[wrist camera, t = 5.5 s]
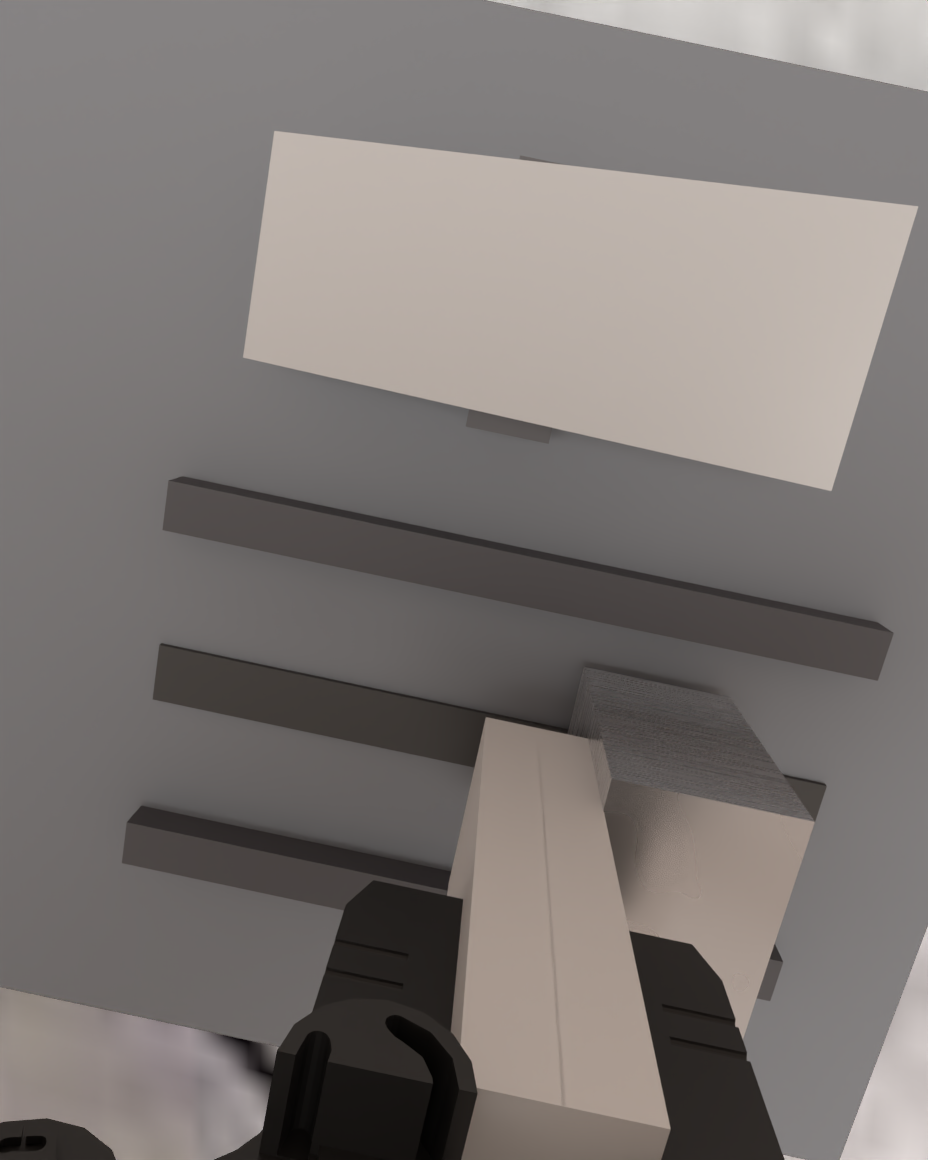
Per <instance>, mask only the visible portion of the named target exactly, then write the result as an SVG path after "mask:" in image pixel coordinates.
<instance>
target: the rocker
mask: <svg viewBox="0 0 928 1160" xmlns="http://www.w3.org/2000/svg"><path fill="white" fill-rule="evenodd" d="M917 209H918V206H911V205H902V204H894V203H885V202H877V201H868V200H860V199H851V198H843V197H834V196H826V195H817V194H809V193H800V192H791V191H783V190H774V189H766V188H757V187H749V186H740V185H732V184H723V183H715V182H706V181H698V180H689V179H681V178H672V177H664V176H655V175H646V174H638V173H629V172H621V171H612V170H604V169H595V168H587V167H578V166H570V165H561V164H553V163H544V162H536V161H527V160H519V159H510V158H502V157H493V156H484V155H476V154H467V153H459V152H450V151H442V150H433V149H425V148H416V147H408V146H399V145H391V144H382V143H374V142H365V141H357V140H348V139H340V138H331V137H322V136H314V135H305V134H297V133H288V132H280V131H274V137H273V144H272V151H271V159H270V166H269V173H268V180H267V187H266V195H265V202H264V209H263V216H262V224H261V231H260V238H259V245H258V253H257V260H256V267H255V274H254V282H253V289H252V296H251V303H250V311H249V318H248V325H247V332H246V340H245V347H244V354H243V358H247V359H252V360H256V361H260V362H265V363H269V364H274V365H278V366H283V367H287V368H291V369H296V370H300V371H305V372H309V373H313V374H318V375H322V376H327V377H331V378H335V379H340V380H344V381H349V382H353V383H357V384H362V385H366V386H371V387H375V388H379V389H384V390H388V391H393V392H397V393H401V394H406V395H410V396H415V397H419V398H423V399H428V400H432V401H437V402H441V403H445V404H450V405H454V406H459V407H463V408H467V409H472V410H476V411H481V412H485V413H489V414H494V415H498V416H503V417H507V418H512V419H516V420H520V421H525V422H529V423H534V424H538V425H542V426H547V427H551V428H556V429H560V430H564V431H569V432H573V433H578V434H582V435H586V436H591V437H595V438H600V439H604V440H608V441H613V442H617V443H622V444H626V445H630V446H635V447H639V448H644V449H648V450H652V451H657V452H661V453H666V454H670V455H674V456H679V457H683V458H688V459H692V460H696V461H701V462H705V463H710V464H714V465H718V466H723V467H727V468H732V469H736V470H740V471H745V472H749V473H754V474H758V475H763V476H767V477H771V478H776V479H780V480H785V481H789V482H793V483H798V484H802V485H807V486H811V487H815V488H820V489H824V490H829V491H832V488H833V484H834V481H835V478H836V474H837V471H838V468H839V465H840V461H841V458H842V455H843V452H844V448H845V445H846V442H847V438H848V435H849V432H850V429H851V425H852V422H853V419H854V416H855V412H856V409H857V406H858V402H859V399H860V396H861V393H862V389H863V386H864V383H865V380H866V376H867V373H868V370H869V366H870V363H871V360H872V357H873V353H874V350H875V347H876V344H877V340H878V337H879V334H880V330H881V327H882V324H883V321H884V317H885V314H886V311H887V307H888V304H889V301H890V298H891V294H892V291H893V288H894V285H895V281H896V278H897V275H898V271H899V268H900V265H901V262H902V258H903V255H904V252H905V249H906V245H907V242H908V239H909V235H910V232H911V229H912V226H913V222H914V219H915V216H916V213H917Z"/></svg>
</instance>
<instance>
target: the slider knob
mask: <svg viewBox="0 0 928 1160" xmlns="http://www.w3.org/2000/svg"><path fill="white" fill-rule="evenodd" d="M567 734H568V735H573V736H578V737H583V738H587V739H588V741H589V746H590V751H591V755H592V760H593V765H594V770H595V774H596V779H597V784H598V789H599V794H600V798H601V803H602V808H603V811H604V815H605V820H606V824H607V829H608V834H609V839H610V843H611V848H612V853H613V858H614V862H615V867H616V872H617V877H618V881H619V886H620V891H621V896H622V900H623V905H624V910H625V915H626V919H627V924H628V929H629V931H632V932H637V933H642V934H646V935H651V936H656V937H660V938H665V939H670V940H675V941H679V942H684V943H689V944H692V945H693V946H694V947H695V948H696V950H697V951H698V952H699V953H700V954H701V956H702V957H703V958H704V959H705V960H706V962H707V963H708V964H709V965H710V966H711V968H712V969H713V970H714V971H715V973H716V974H717V975H718V976H719V977H720V979H721V980H722V981H723V984H724V987H725V990H726V993H727V996H728V999H729V1002H730V1004H731V1007H732V1010H733V1013H734V1016H735V1019H736V1021H735V1027H738V1028H739V1030H740V1033H741V1036H742V1039H743V1038H744V1035H745V1032H746V1029H747V1026H748V1022H749V1019H750V1016H751V1013H752V1010H753V1007H754V1004H755V1001H756V998H757V995H758V992H759V989H760V986H761V983H762V980H763V977H764V974H765V971H766V968H767V965H768V962H769V959H770V956H771V953H772V950H773V947H774V944H775V941H776V938H777V935H778V932H779V929H780V926H781V923H782V920H783V917H784V914H785V911H786V908H787V905H788V902H789V899H790V896H791V893H792V890H793V887H794V884H795V881H796V878H797V874H798V871H799V868H800V865H801V862H802V859H803V856H804V853H805V850H806V847H807V844H808V841H809V838H810V835H811V832H812V829H813V826H814V823H815V821H814V820H813V818H812V817H811V815H810V814H809V812H808V811H807V810H806V808H805V807H804V805H803V804H802V802H801V801H800V799H799V798H798V796H797V795H796V793H795V792H794V790H793V789H792V787H791V786H790V785H789V783H788V782H787V780H786V779H785V777H784V776H783V774H782V773H781V771H780V770H779V768H778V767H777V765H776V764H775V762H774V761H773V760H772V758H771V757H770V755H769V754H768V752H767V751H766V749H765V748H764V746H763V745H762V743H761V742H760V740H759V739H758V737H757V736H756V735H755V733H754V732H753V730H752V729H751V727H750V726H749V724H748V723H747V721H746V720H745V718H744V717H743V715H742V714H741V712H740V711H739V710H738V708H737V707H736V705H735V704H734V702H733V701H732V699H731V698H730V697H725V696H720V695H716V694H711V693H706V692H701V691H697V690H692V689H687V688H682V687H678V686H673V685H668V684H663V683H659V682H654V681H649V680H645V679H640V678H635V677H630V676H626V675H621V674H616V673H611V672H607V671H602V670H597V669H592V668H588V667H584V668H583V672H582V676H581V680H580V684H579V688H578V692H577V696H576V700H575V704H574V708H573V712H572V716H571V720H570V724H569V728H568V732H567Z"/></svg>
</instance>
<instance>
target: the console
mask: <svg viewBox="0 0 928 1160" xmlns="http://www.w3.org/2000/svg"><path fill="white" fill-rule="evenodd" d="M274 131H280V132H288V133H297V134H305V135H314V136H322V137H331V138H340V139H348V140H357V141H365V142H374V143H382V144H391V145H399V146H408V147H416V148H425V149H433V150H442V151H450V152H459V153H467V154H476V155H484V156H493V157H502V158H510V159H519V160H527V161H536V162H544V163H553V164H561V165H570V166H578V167H587V168H595V169H604V170H612V171H621V172H629V173H638V174H646V175H655V176H664V177H672V178H681V179H689V180H698V181H706V182H715V183H723V184H732V185H740V186H749V187H757V188H766V189H774V190H783V191H791V192H800V193H809V194H817V195H826V196H834V197H843V198H851V199H860V200H868V201H877V202H885V203H894V204H902V205H911V206H918V209H917V213H916V216H915V219H914V222H913V226H912V229H911V232H910V235H909V239H908V242H907V245H906V249H905V252H904V255H903V258H902V262H901V265H900V268H899V271H898V275H897V278H896V281H895V285H894V288H893V291H892V294H891V298H890V301H889V304H888V307H887V311H886V314H885V317H884V321H883V324H882V327H881V330H880V334H879V337H878V340H877V344H876V347H875V350H874V353H873V357H872V360H871V363H870V366H869V370H868V373H867V376H866V380H865V383H864V386H863V389H862V393H861V396H860V399H859V402H858V406H857V409H856V412H855V416H854V419H853V422H852V425H851V429H850V432H849V435H848V438H847V442H846V445H845V448H844V452H843V455H842V458H841V461H840V465H839V468H838V471H837V474H836V478H835V481H834V484H833V488H832V491H829V490H824V489H820V488H815V487H811V486H807V485H802V484H798V483H793V482H789V481H785V480H780V479H776V478H771V477H767V476H763V475H758V474H754V473H749V472H745V471H740V470H736V469H732V468H727V467H723V466H718V465H714V464H710V463H705V462H701V461H696V460H692V459H688V458H683V457H679V456H674V455H670V454H666V453H661V452H657V451H652V450H648V449H644V448H639V447H635V446H630V445H626V444H622V443H617V442H613V441H608V440H604V439H600V438H595V437H591V436H586V435H582V434H578V433H573V432H569V431H564V430H560V429H556V428H551V427H547V426H542V425H538V424H534V423H529V422H525V421H520V420H516V419H512V418H507V417H503V416H498V415H494V414H489V413H485V412H481V411H476V410H472V409H467V408H463V407H459V406H454V405H450V404H445V403H441V402H437V401H432V400H428V399H423V398H419V397H415V396H410V395H406V394H401V393H397V392H393V391H388V390H384V389H379V388H375V387H371V386H366V385H362V384H357V383H353V382H349V381H344V380H340V379H335V378H331V377H327V376H322V375H318V374H313V373H309V372H305V371H300V370H296V369H291V368H287V367H283V366H278V365H274V364H269V363H265V362H260V361H256V360H252V359H247V358H243V354H244V347H245V340H246V332H247V325H248V318H249V311H250V303H251V296H252V289H253V282H254V274H255V267H256V260H257V253H258V245H259V238H260V231H261V224H262V216H263V209H264V202H265V195H266V187H267V180H268V173H269V166H270V159H271V151H272V144H273V137H274ZM584 667H588V668H592V669H597V670H602V671H607V672H611V673H616V674H621V675H626V676H630V677H635V678H640V679H645V680H649V681H654V682H659V683H663V684H668V685H673V686H678V687H682V688H687V689H692V690H697V691H701V692H706V693H711V694H716V695H720V696H725V697H730V698H731V699H732V701H733V702H734V704H735V705H736V707H737V708H738V710H739V711H740V712H741V714H742V715H743V717H744V718H745V720H746V721H747V723H748V724H749V726H750V727H751V729H752V730H753V732H754V733H755V735H756V736H757V737H758V739H759V740H760V742H761V743H762V745H763V746H764V748H765V749H766V751H767V752H768V754H769V755H770V757H771V758H772V760H773V761H774V762H775V764H776V765H777V767H778V768H779V770H780V771H781V773H782V774H783V776H784V777H785V779H786V780H787V782H788V783H789V785H790V786H791V787H792V789H793V790H794V792H795V793H796V795H797V796H798V798H799V799H800V801H801V802H802V804H803V805H804V807H805V808H806V810H807V811H808V812H809V814H810V815H811V817H812V818H813V820H814V821H815V823H814V826H813V829H812V832H811V835H810V838H809V841H808V844H807V847H806V850H805V853H804V856H803V859H802V862H801V865H800V868H799V871H798V874H797V878H796V881H795V884H794V887H793V890H792V893H791V896H790V899H789V902H788V905H787V908H786V911H785V914H784V917H783V920H782V923H781V926H780V929H779V932H778V935H777V938H776V941H775V944H774V947H773V950H772V953H771V956H770V959H769V962H768V965H767V968H766V971H765V974H764V977H763V980H762V983H761V986H760V989H759V992H758V995H757V998H756V1001H755V1004H754V1007H753V1010H752V1013H751V1016H750V1019H749V1022H748V1026H747V1029H746V1032H745V1035H744V1038H743V1042H744V1045H745V1048H746V1051H747V1061H750V1062H751V1065H752V1068H753V1071H754V1074H755V1076H756V1079H757V1082H758V1085H759V1088H760V1091H761V1094H762V1097H763V1099H764V1102H765V1105H766V1108H767V1111H768V1114H769V1117H770V1120H771V1122H772V1125H773V1128H774V1131H775V1134H776V1137H777V1140H778V1143H779V1145H780V1148H781V1151H782V1154H783V1155H787V1156H792V1157H797V1158H801V1159H806V1160H840V1157H841V1154H842V1152H843V1149H844V1146H845V1144H846V1141H847V1138H848V1136H849V1133H850V1130H851V1128H852V1125H853V1122H854V1120H855V1117H856V1114H857V1112H858V1109H859V1106H860V1104H861V1101H862V1099H863V1096H864V1093H865V1091H866V1088H867V1085H868V1083H869V1080H870V1077H871V1075H872V1072H873V1069H874V1067H875V1064H876V1061H877V1059H878V1056H879V1053H880V1051H881V1048H882V1046H883V1043H884V1040H885V1038H886V1035H887V1032H888V1030H889V1027H890V1024H891V1022H892V1019H893V1016H894V1014H895V1011H896V1008H897V1006H898V1003H899V1000H900V998H901V995H902V992H903V990H904V987H905V985H906V982H907V979H908V977H909V974H910V971H911V969H912V966H913V963H914V961H915V958H916V955H917V953H918V950H919V947H920V945H921V942H922V939H923V937H924V934H925V932H926V929H927V926H928V92H927V91H922V90H917V89H912V88H907V87H903V86H898V85H893V84H888V83H883V82H878V81H874V80H869V79H864V78H859V77H854V76H849V75H845V74H840V73H835V72H830V71H825V70H820V69H816V68H811V67H806V66H801V65H796V64H791V63H787V62H782V61H777V60H772V59H767V58H762V57H758V56H753V55H748V54H743V53H738V52H733V51H729V50H724V49H719V48H714V47H709V46H704V45H699V44H695V43H690V42H685V41H680V40H675V39H670V38H666V37H661V36H656V35H651V34H646V33H641V32H637V31H632V30H627V29H622V28H617V27H612V26H608V25H603V24H598V23H593V22H588V21H583V20H579V19H574V18H569V17H564V16H559V15H554V14H550V13H545V12H540V11H535V10H530V9H525V8H521V7H516V6H511V5H506V4H501V3H496V2H492V1H487V0H0V987H2V988H7V989H12V990H16V991H21V992H26V993H30V994H35V995H40V996H44V997H49V998H54V999H59V1000H63V1001H68V1002H73V1003H77V1004H82V1005H87V1006H91V1007H96V1008H101V1009H105V1010H110V1011H115V1012H119V1013H124V1014H129V1015H133V1016H138V1017H143V1018H147V1019H152V1020H157V1021H161V1022H166V1023H171V1024H175V1025H180V1026H185V1027H189V1028H194V1029H199V1030H203V1031H208V1032H213V1033H217V1034H222V1035H227V1036H231V1037H236V1038H241V1039H245V1040H250V1041H255V1042H259V1043H264V1044H269V1045H273V1046H278V1047H280V1046H281V1044H282V1042H283V1041H284V1039H285V1038H286V1036H287V1035H288V1033H289V1031H290V1030H291V1028H292V1027H293V1025H294V1024H295V1023H297V1022H298V1021H300V1020H301V1019H303V1018H304V1017H306V1016H307V1015H309V1014H310V1013H312V1011H313V1007H314V1004H315V1001H316V998H317V995H318V992H319V988H320V985H321V982H322V979H323V976H324V974H325V970H326V966H327V963H328V960H329V957H330V953H331V950H332V947H333V945H334V942H335V938H336V934H337V931H338V928H339V925H340V922H341V918H342V915H343V912H344V909H345V906H346V904H347V903H348V902H349V901H350V900H351V899H353V898H354V897H355V896H356V895H357V894H358V893H359V892H361V891H362V890H363V889H364V888H365V887H366V886H367V885H368V884H370V883H371V882H372V881H373V880H376V881H380V882H385V883H390V884H395V885H399V886H404V887H409V888H413V889H418V890H423V891H428V892H432V893H437V894H442V895H446V896H447V892H448V884H449V880H450V875H451V871H452V866H453V862H454V857H455V853H456V848H457V844H458V839H459V835H460V830H461V826H462V821H463V817H464V812H465V808H466V803H467V799H468V795H469V790H470V786H471V781H472V777H473V772H474V768H475V763H476V759H477V754H478V750H479V745H480V741H481V736H482V732H483V727H484V723H485V719H486V717H488V718H493V719H497V720H502V721H507V722H512V723H516V724H521V725H526V726H531V727H535V728H540V729H545V730H549V731H554V732H559V733H564V734H567V732H568V728H569V724H570V720H571V716H572V712H573V708H574V704H575V700H576V696H577V692H578V688H579V684H580V680H581V676H582V672H583V668H584Z"/></svg>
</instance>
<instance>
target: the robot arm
mask: <svg viewBox="0 0 928 1160" xmlns="http://www.w3.org/2000/svg"><path fill="white" fill-rule="evenodd" d="M735 1021H736V1019H735V1016H734V1013H733V1010H732V1007H731V1004H730V1002H729V999H728V996H727V993H726V990H725V987H724V984H723V981H722V980H721V979H720V977H719V976H718V975H717V974H716V973H715V971H714V970H713V969H712V968H711V966H710V965H709V964H708V963H707V962H706V960H705V959H704V958H703V957H702V956H701V954H700V953H699V952H698V951H697V950H696V948H695V947H694V946H693V945H692V944H689V943H684V942H679V941H675V940H670V939H665V938H660V937H656V936H651V935H646V934H642V933H637V932H632V931H629V929H628V924H627V919H626V915H625V910H624V905H623V900H622V896H621V891H620V886H619V881H618V877H617V872H616V867H615V862H614V858H613V853H612V848H611V843H610V839H609V834H608V829H607V824H606V820H605V815H604V811H603V808H602V803H601V798H600V794H599V789H598V784H597V779H596V774H595V770H594V765H593V760H592V755H591V751H590V746H589V741H588V739H587V738H583V737H578V736H573V735H568V734H564V733H559V732H554V731H549V730H545V729H540V728H535V727H531V726H526V725H521V724H516V723H512V722H507V721H502V720H497V719H493V718H488V717H486V719H485V723H484V727H483V732H482V736H481V741H480V745H479V750H478V754H477V759H476V763H475V768H474V772H473V777H472V781H471V786H470V790H469V795H468V799H467V803H466V808H465V812H464V817H463V821H462V826H461V830H460V835H459V839H458V844H457V848H456V853H455V857H454V862H453V866H452V871H451V875H450V880H449V884H448V892H447V896H446V895H442V894H437V893H432V892H428V891H423V890H418V889H413V888H409V887H404V886H399V885H395V884H390V883H385V882H380V881H376V880H373V881H372V882H371V883H370V884H368V885H367V886H366V887H365V888H364V889H363V890H362V891H361V892H359V893H358V894H357V895H356V896H355V897H354V898H353V899H351V900H350V901H349V902H348V903H347V904H346V906H345V909H344V912H343V915H342V918H341V922H340V925H339V928H338V931H337V934H336V938H335V942H334V945H333V947H332V950H331V953H330V957H329V960H328V963H327V966H326V970H325V974H324V976H323V979H322V982H321V985H320V988H319V992H318V995H317V998H316V1001H315V1004H314V1007H313V1011H312V1013H310V1014H309V1015H307V1016H306V1017H304V1018H303V1019H301V1020H300V1021H298V1022H297V1023H295V1024H294V1025H293V1027H292V1028H291V1030H290V1031H289V1033H288V1035H287V1036H286V1038H285V1039H284V1041H283V1042H282V1044H281V1046H280V1047H279V1049H278V1050H277V1055H276V1060H275V1066H274V1071H273V1077H272V1082H271V1088H270V1093H269V1099H268V1105H267V1110H266V1116H265V1121H264V1127H263V1130H262V1131H261V1132H260V1133H259V1134H258V1135H257V1136H255V1137H254V1138H252V1139H251V1140H250V1141H248V1142H247V1143H246V1144H244V1145H243V1146H241V1147H240V1148H239V1149H237V1150H235V1151H233V1152H231V1153H228V1154H226V1155H224V1156H222V1157H219V1158H217V1159H215V1160H784V1157H783V1154H782V1151H781V1148H780V1145H779V1143H778V1140H777V1137H776V1134H775V1131H774V1128H773V1125H772V1122H771V1120H770V1117H769V1114H768V1111H767V1108H766V1105H765V1102H764V1099H763V1097H762V1094H761V1091H760V1088H759V1085H758V1082H757V1079H756V1076H755V1074H754V1071H753V1068H752V1065H751V1062H750V1061H747V1051H746V1048H745V1045H744V1042H743V1039H742V1036H741V1033H740V1030H739V1028H738V1027H735ZM0 1160H116V1159H115V1157H114V1154H113V1152H112V1150H111V1149H110V1148H109V1147H108V1146H106V1145H105V1144H104V1143H103V1142H101V1141H100V1140H99V1139H98V1138H96V1137H95V1136H94V1135H93V1134H91V1133H90V1132H89V1131H88V1130H86V1129H85V1128H83V1127H79V1126H75V1125H71V1124H67V1123H63V1122H59V1121H55V1120H51V1119H47V1118H46V1119H34V1120H22V1121H10V1122H2V1123H0Z"/></svg>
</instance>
